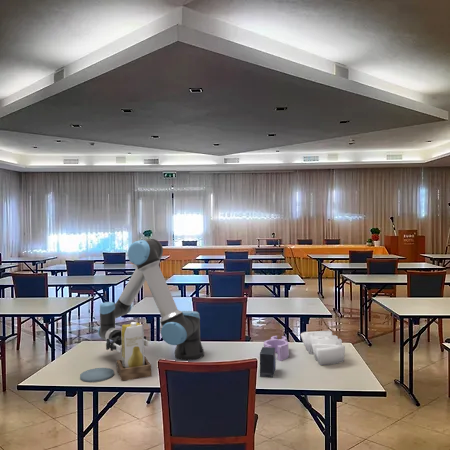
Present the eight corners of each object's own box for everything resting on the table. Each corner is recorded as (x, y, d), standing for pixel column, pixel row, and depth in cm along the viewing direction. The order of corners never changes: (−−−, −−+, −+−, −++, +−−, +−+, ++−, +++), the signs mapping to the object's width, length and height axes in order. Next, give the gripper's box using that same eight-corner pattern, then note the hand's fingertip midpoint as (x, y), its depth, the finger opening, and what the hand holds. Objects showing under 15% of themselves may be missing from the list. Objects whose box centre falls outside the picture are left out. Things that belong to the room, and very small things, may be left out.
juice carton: (127, 378, 200) (125, 325, 200) (121, 373, 207) (119, 321, 206) (146, 373, 205) (145, 322, 205) (139, 368, 212) (138, 318, 211)
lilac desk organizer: (268, 348, 240) (268, 335, 240) (291, 349, 236) (291, 336, 236) (261, 360, 221) (261, 346, 220) (286, 361, 217) (286, 347, 217)
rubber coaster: (111, 368, 214) (111, 365, 214) (116, 378, 200) (116, 376, 200) (79, 373, 208) (79, 370, 208) (81, 384, 194) (81, 381, 194)
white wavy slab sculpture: (349, 367, 206) (349, 345, 206) (314, 368, 206) (313, 346, 206) (329, 345, 241) (328, 326, 241) (299, 346, 241) (298, 327, 241)
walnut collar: (145, 366, 215) (144, 356, 215) (151, 376, 202) (151, 365, 202) (116, 370, 210) (116, 360, 210) (121, 380, 197) (121, 369, 197)
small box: (274, 377, 196) (273, 354, 196) (259, 377, 197) (259, 353, 197) (276, 369, 206) (275, 347, 206) (262, 368, 208) (261, 346, 207)
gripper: (138, 339, 229) (158, 349, 212) (91, 349, 214) (108, 360, 197) (138, 325, 229) (157, 333, 212) (90, 334, 214) (107, 343, 197)
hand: (133, 346), depth 204 cm, fingers open, 13 cm apart
